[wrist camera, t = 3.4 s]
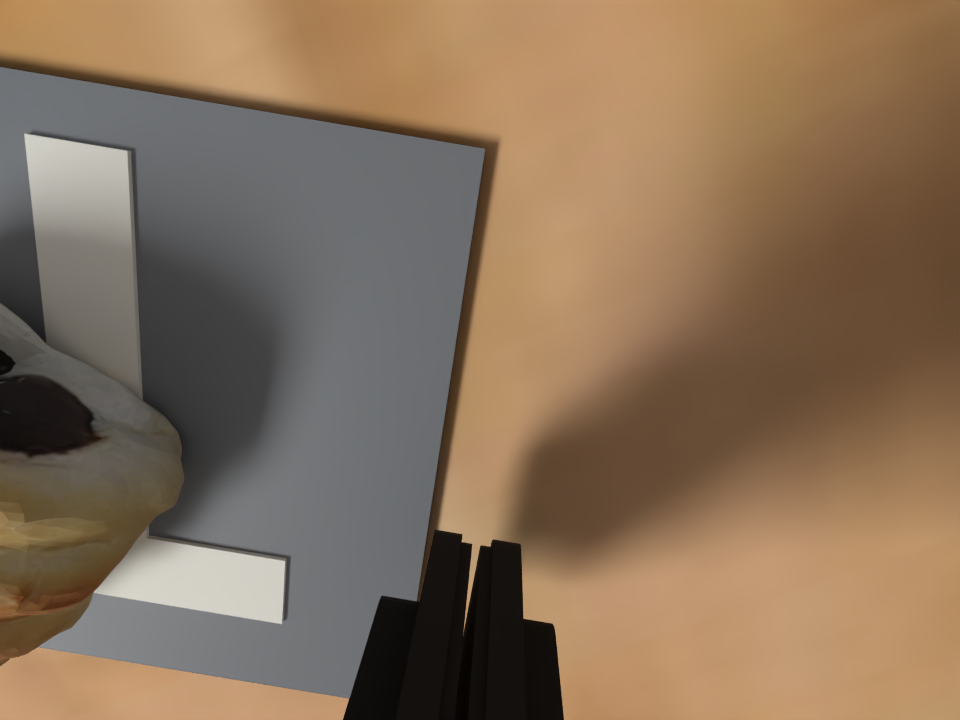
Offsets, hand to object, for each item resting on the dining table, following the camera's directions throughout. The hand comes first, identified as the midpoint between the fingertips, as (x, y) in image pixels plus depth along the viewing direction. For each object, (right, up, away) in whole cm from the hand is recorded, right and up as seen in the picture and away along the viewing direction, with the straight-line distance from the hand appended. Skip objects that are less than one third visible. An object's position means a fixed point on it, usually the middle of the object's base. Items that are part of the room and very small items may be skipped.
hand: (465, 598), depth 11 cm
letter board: (-8, +3, +1) cm, 8 cm away
